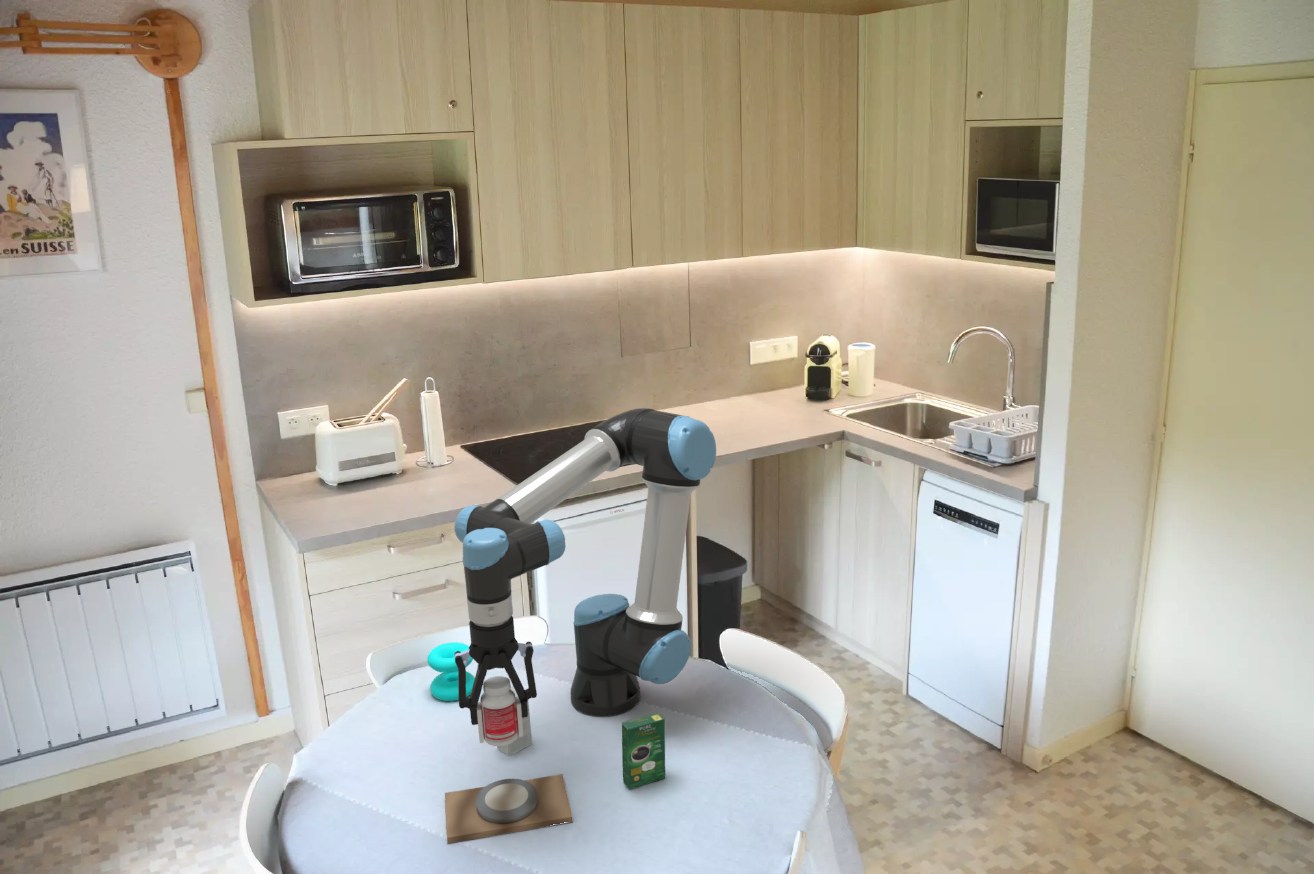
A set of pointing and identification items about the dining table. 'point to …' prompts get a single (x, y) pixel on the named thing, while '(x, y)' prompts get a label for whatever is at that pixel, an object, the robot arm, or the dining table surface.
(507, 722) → the pill bottle
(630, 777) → the coffee box
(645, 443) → the robot arm
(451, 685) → the donuts
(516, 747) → the skincare box
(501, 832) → the seat board
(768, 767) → the dining table surface
